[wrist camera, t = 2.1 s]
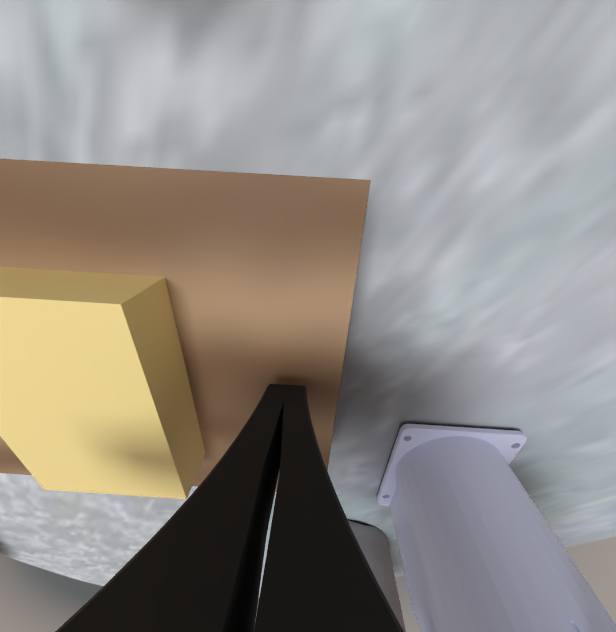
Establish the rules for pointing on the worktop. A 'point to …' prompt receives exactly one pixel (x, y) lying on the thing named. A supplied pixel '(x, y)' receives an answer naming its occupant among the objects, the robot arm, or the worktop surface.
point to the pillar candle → (379, 563)
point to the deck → (208, 272)
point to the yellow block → (96, 383)
